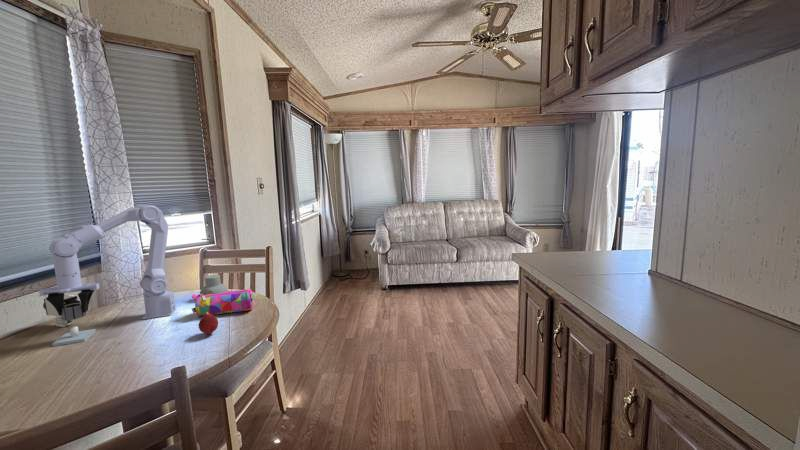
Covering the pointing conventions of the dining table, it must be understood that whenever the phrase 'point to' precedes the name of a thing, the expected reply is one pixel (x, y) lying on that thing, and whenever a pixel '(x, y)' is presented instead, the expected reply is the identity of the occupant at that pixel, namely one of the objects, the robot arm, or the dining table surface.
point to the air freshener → (213, 285)
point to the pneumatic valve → (52, 311)
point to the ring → (72, 311)
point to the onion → (208, 323)
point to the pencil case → (223, 302)
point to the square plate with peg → (74, 336)
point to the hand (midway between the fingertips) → (73, 312)
